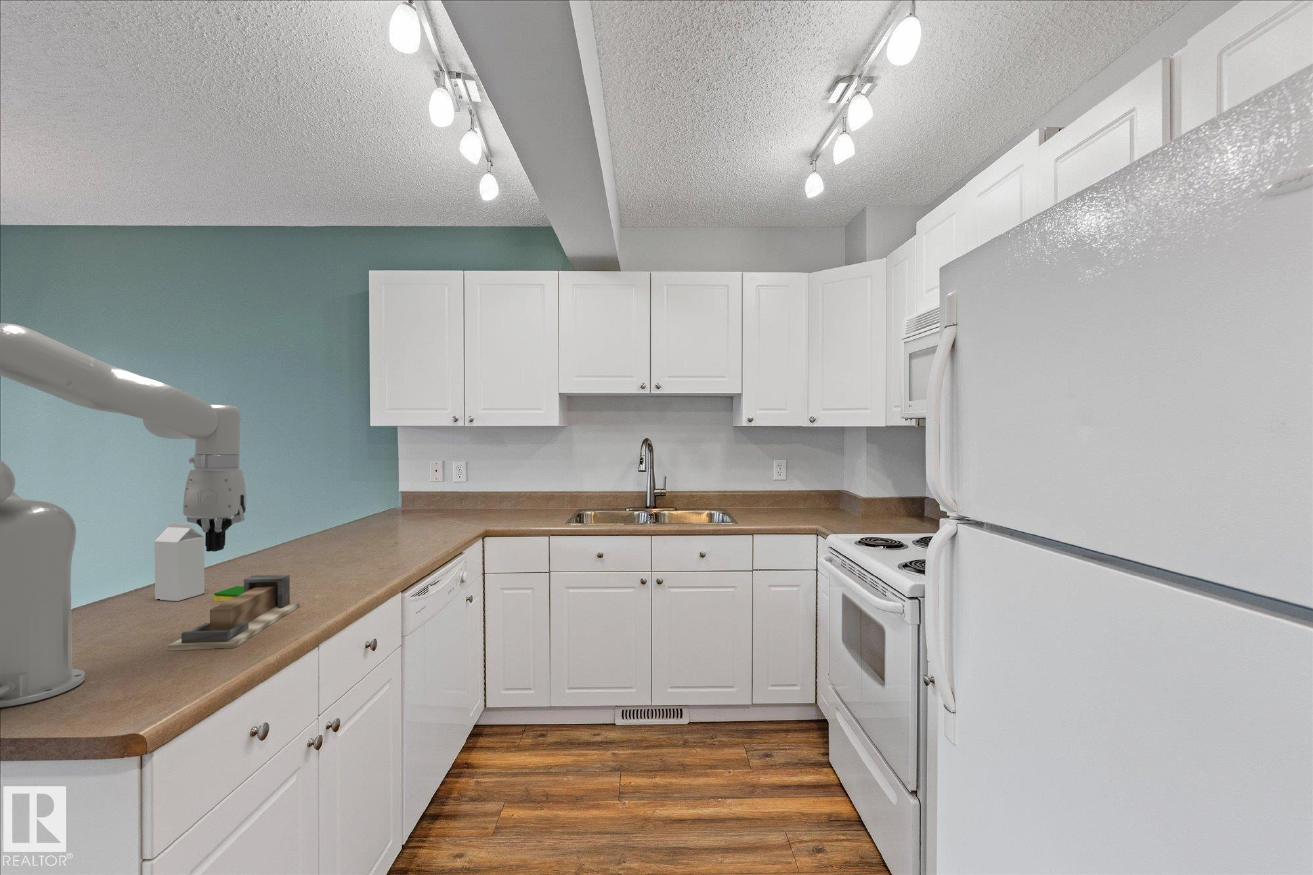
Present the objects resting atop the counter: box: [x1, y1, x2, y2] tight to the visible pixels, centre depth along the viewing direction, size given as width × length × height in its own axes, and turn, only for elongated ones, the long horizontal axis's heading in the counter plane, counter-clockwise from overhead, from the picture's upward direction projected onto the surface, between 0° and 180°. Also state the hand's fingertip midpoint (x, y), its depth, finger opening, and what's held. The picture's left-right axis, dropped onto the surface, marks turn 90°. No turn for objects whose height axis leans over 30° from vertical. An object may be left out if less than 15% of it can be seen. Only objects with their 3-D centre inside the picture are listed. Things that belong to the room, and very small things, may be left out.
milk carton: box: [154, 522, 206, 602], centre depth 150 cm, size 7×7×19 cm
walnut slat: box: [209, 586, 276, 631], centre depth 130 cm, size 18×4×5 cm, turn 7°
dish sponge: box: [213, 585, 244, 602], centre depth 149 cm, size 7×14×2 cm, turn 82°
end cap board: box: [167, 574, 301, 652], centre depth 129 cm, size 27×12×8 cm, turn 7°
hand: (215, 550), depth 123 cm, fingers closed
